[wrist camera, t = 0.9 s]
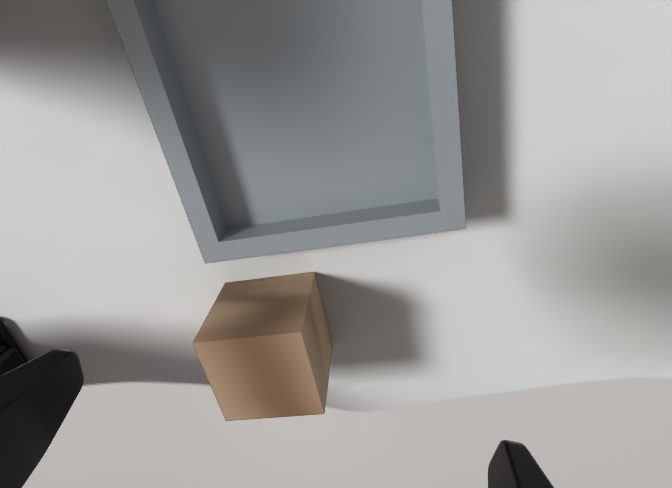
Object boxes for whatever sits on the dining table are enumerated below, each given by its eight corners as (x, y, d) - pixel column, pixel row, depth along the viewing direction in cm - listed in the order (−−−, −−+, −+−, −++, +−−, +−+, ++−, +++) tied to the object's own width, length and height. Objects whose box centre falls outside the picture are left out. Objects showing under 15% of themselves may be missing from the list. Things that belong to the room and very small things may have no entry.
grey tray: (219, 241, 23) (205, 263, 21) (104, -88, 16) (68, -100, 15) (457, 208, 21) (465, 228, 19) (430, -177, 15) (438, -205, 13)
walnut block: (250, 352, 26) (225, 420, 22) (225, 281, 24) (192, 343, 20) (332, 344, 26) (324, 413, 21) (314, 271, 23) (300, 331, 19)
